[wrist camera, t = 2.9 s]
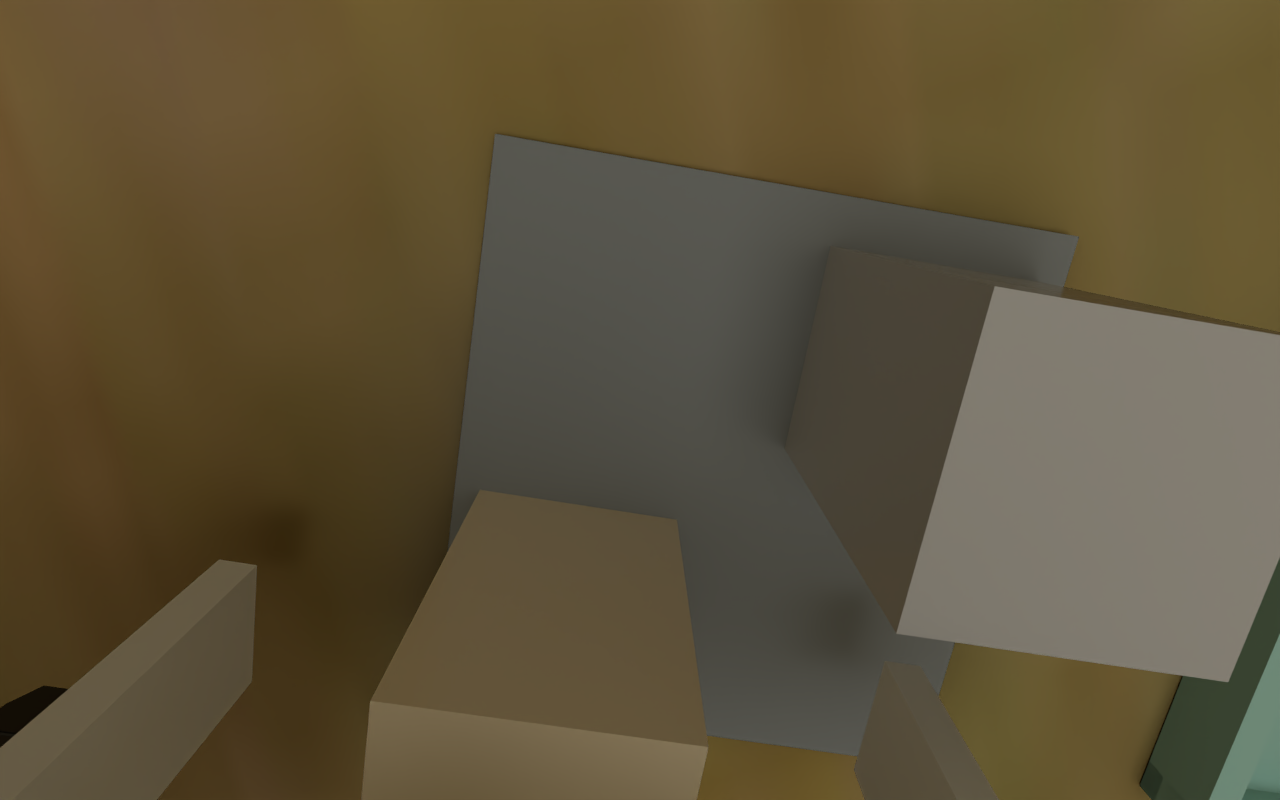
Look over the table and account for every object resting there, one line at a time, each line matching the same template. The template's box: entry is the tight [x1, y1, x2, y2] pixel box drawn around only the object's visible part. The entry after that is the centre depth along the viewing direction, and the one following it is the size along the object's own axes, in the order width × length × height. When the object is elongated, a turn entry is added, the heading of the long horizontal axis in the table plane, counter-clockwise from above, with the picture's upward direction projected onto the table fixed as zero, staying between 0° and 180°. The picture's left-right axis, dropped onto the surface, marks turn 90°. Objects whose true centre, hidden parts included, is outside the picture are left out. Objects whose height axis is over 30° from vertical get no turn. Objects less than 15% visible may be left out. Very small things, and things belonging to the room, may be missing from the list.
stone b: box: [785, 246, 1280, 682], centre depth 14 cm, size 5×5×8 cm
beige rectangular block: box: [361, 490, 708, 800], centre depth 15 cm, size 5×5×8 cm
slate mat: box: [447, 134, 1079, 756], centre depth 19 cm, size 13×14×1 cm
